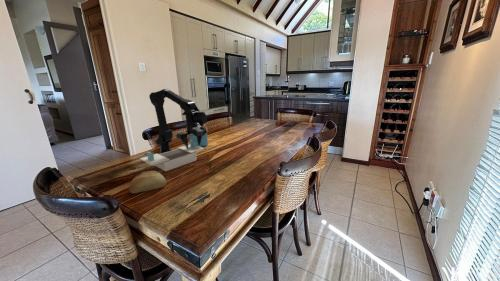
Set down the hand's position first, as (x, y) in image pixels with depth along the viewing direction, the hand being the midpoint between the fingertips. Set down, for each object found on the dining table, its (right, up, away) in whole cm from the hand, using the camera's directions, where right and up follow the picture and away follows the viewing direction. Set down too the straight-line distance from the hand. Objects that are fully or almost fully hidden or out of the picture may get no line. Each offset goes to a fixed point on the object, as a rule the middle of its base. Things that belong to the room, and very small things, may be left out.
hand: (193, 146), depth 131 cm
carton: (-9, -9, -8) cm, 15 cm away
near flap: (-16, -6, -18) cm, 25 cm away
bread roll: (-10, -18, -37) cm, 43 cm away
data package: (-2, 0, +22) cm, 22 cm away
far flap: (-1, -1, -1) cm, 2 cm away
